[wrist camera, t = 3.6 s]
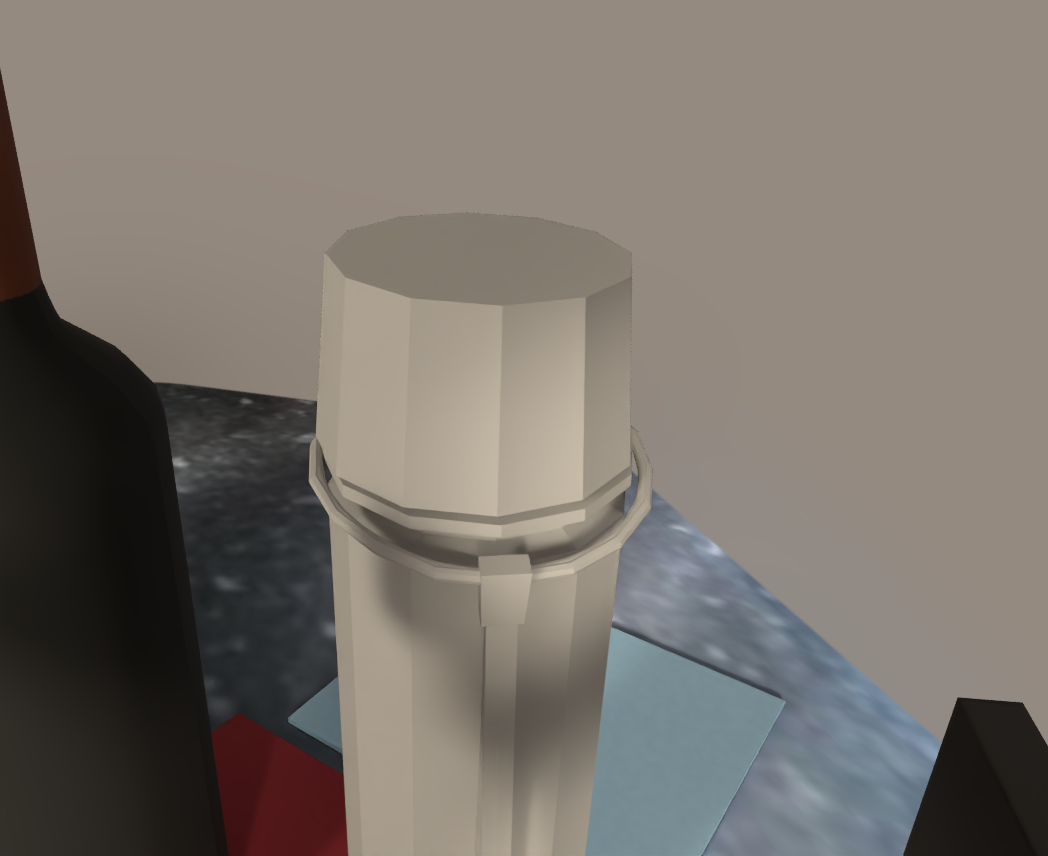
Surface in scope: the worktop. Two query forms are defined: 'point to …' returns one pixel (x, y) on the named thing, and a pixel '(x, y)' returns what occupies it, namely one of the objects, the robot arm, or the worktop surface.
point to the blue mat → (646, 748)
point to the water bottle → (474, 523)
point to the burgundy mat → (276, 795)
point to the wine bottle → (90, 590)
